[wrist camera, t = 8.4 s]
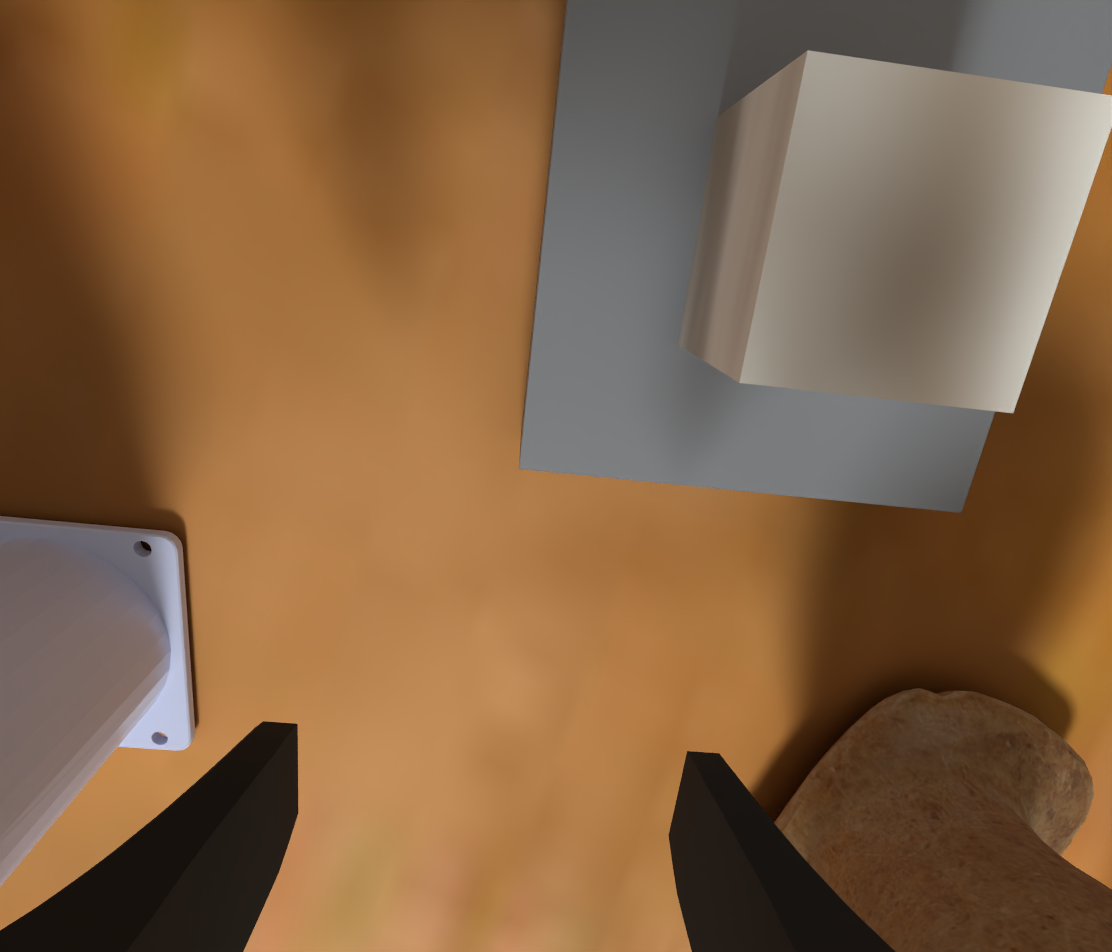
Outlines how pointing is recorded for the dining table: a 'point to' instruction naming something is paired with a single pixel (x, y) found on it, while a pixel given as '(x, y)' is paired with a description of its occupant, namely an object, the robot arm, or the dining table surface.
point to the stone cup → (953, 828)
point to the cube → (889, 229)
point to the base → (671, 229)
